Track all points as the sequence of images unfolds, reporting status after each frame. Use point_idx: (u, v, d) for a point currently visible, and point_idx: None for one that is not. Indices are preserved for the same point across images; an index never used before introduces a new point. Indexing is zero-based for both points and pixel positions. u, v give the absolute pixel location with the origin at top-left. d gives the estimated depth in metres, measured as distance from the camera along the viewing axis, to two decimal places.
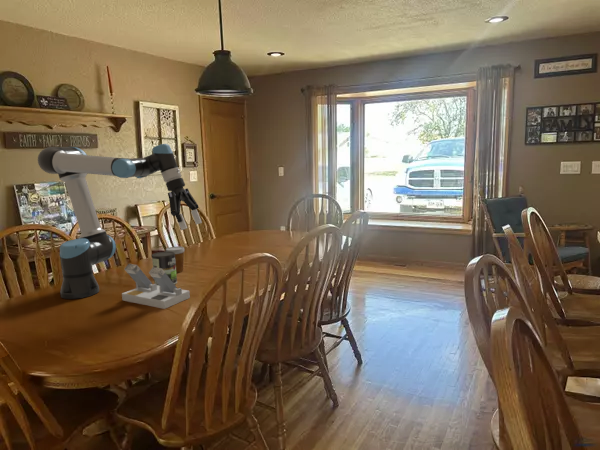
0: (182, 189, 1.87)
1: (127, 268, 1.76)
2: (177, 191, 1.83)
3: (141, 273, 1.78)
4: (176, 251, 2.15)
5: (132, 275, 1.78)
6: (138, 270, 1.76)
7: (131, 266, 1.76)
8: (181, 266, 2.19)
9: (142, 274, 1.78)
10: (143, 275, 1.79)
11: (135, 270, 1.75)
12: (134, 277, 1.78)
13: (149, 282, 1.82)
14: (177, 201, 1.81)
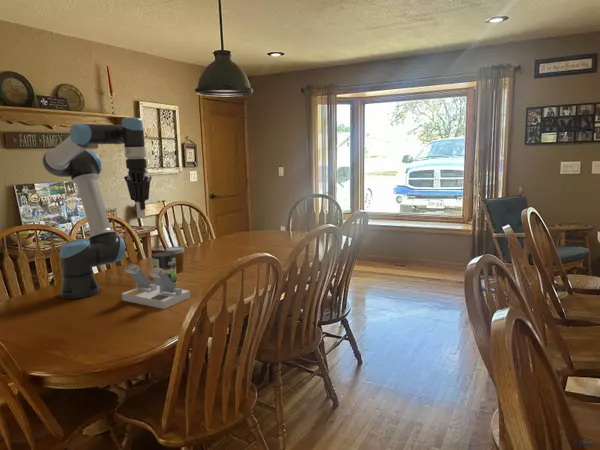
0: (139, 170, 1.68)
1: (127, 268, 1.76)
2: (129, 171, 1.71)
3: (141, 273, 1.78)
4: (176, 251, 2.15)
5: (132, 275, 1.78)
6: (138, 270, 1.76)
7: (131, 266, 1.76)
8: (181, 266, 2.19)
9: (142, 274, 1.78)
10: (143, 275, 1.79)
11: (135, 270, 1.75)
12: (134, 277, 1.78)
13: (149, 282, 1.82)
14: None
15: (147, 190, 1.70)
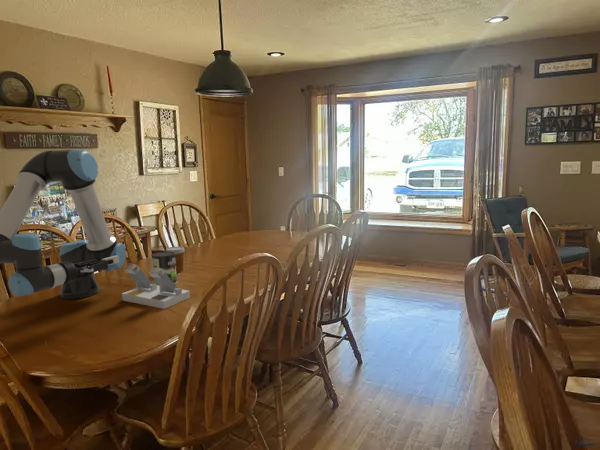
0: None
1: (127, 268, 1.76)
2: None
3: (141, 273, 1.78)
4: (176, 251, 2.15)
5: (132, 275, 1.78)
6: (138, 270, 1.76)
7: (131, 266, 1.76)
8: (181, 266, 2.19)
9: (142, 274, 1.78)
10: (143, 275, 1.79)
11: (135, 270, 1.75)
12: (134, 277, 1.78)
13: (149, 282, 1.82)
14: None
15: (100, 265, 1.58)
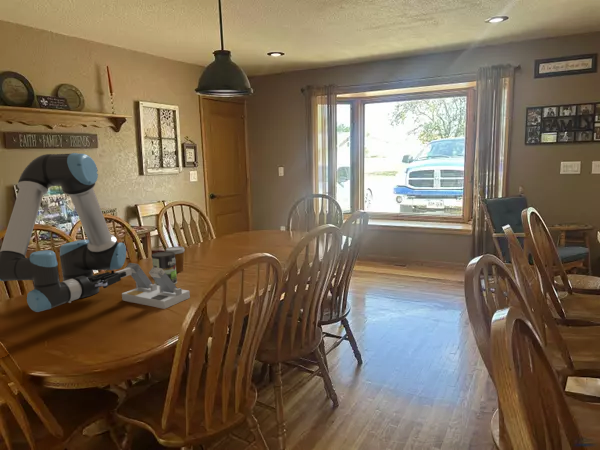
0: None
1: (128, 267, 1.76)
2: None
3: (142, 272, 1.78)
4: (176, 251, 2.15)
5: (132, 274, 1.78)
6: (139, 269, 1.76)
7: (132, 265, 1.76)
8: (181, 266, 2.19)
9: (143, 273, 1.78)
10: (143, 275, 1.79)
11: (136, 269, 1.75)
12: (135, 277, 1.78)
13: (149, 282, 1.82)
14: None
15: (114, 279, 1.63)
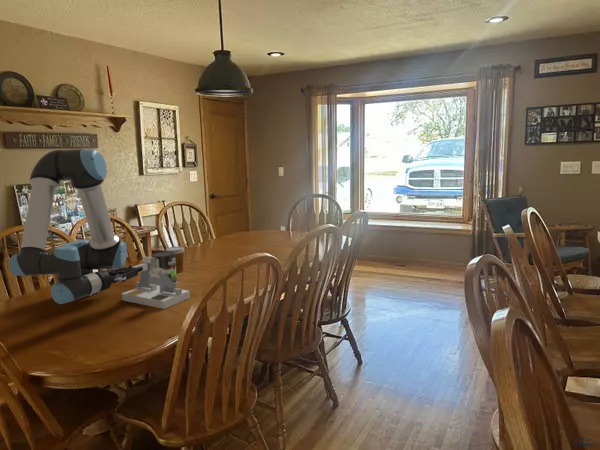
0: None
1: None
2: None
3: None
4: (176, 251, 2.15)
5: None
6: (154, 263, 1.83)
7: None
8: (181, 266, 2.19)
9: None
10: None
11: (152, 260, 1.82)
12: None
13: (152, 282, 1.83)
14: None
15: (132, 273, 1.70)
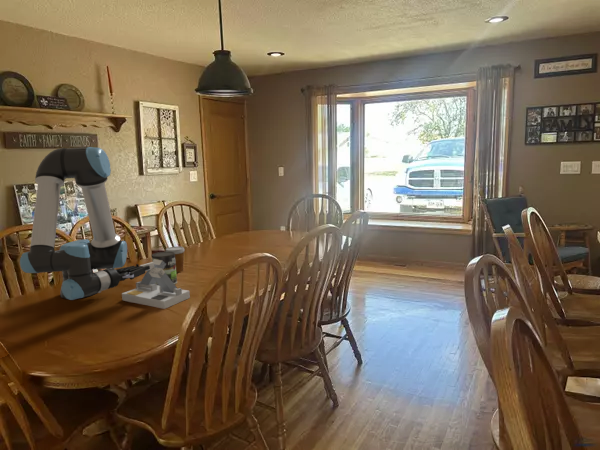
0: None
1: None
2: None
3: None
4: (176, 251, 2.15)
5: None
6: (162, 267, 1.87)
7: None
8: (181, 266, 2.19)
9: None
10: None
11: (162, 264, 1.87)
12: None
13: (153, 283, 1.83)
14: None
15: (139, 271, 1.74)
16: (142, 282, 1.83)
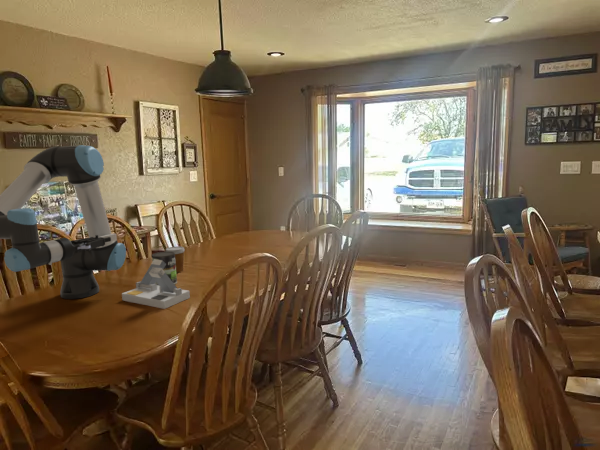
0: None
1: None
2: None
3: None
4: (176, 251, 2.15)
5: (152, 267, 1.87)
6: (162, 267, 1.87)
7: None
8: (181, 266, 2.19)
9: None
10: None
11: (162, 264, 1.87)
12: None
13: (153, 283, 1.83)
14: None
15: (97, 243, 1.57)
16: (142, 282, 1.83)
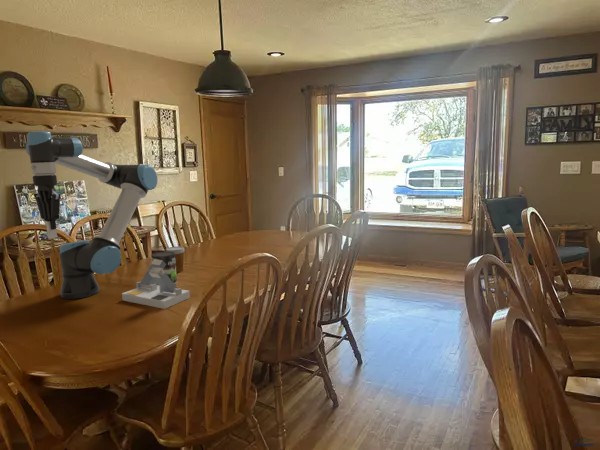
0: (47, 187, 1.57)
1: None
2: (38, 188, 1.60)
3: None
4: (176, 251, 2.15)
5: (152, 267, 1.87)
6: (162, 267, 1.87)
7: None
8: (181, 266, 2.19)
9: None
10: None
11: (162, 264, 1.87)
12: None
13: (153, 283, 1.83)
14: None
15: (56, 209, 1.59)
16: (142, 282, 1.83)
